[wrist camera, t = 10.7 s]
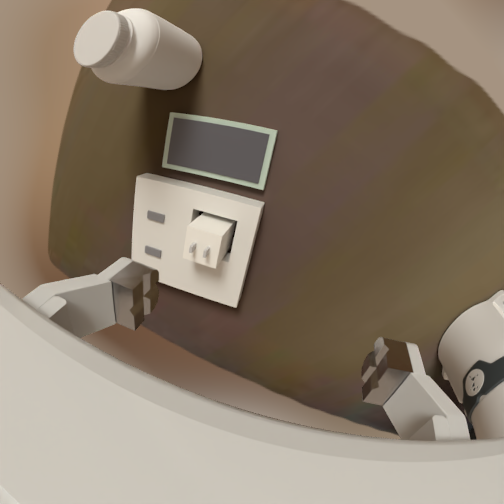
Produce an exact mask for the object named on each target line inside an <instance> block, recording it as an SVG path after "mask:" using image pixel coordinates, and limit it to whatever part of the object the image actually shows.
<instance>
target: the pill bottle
mask: <svg viewBox="0 0 504 504" xmlns="http://www.w3.org/2000/svg"><path fill="white" fill-rule="evenodd" d="M74 56H75V59H76V61H77V62H78V63H79V64H80V65H81V66H83V67H89V68H91V69H92V71H93V72H94V74H95V75H96V76H97V77H98V78H100V79H101V80H103V81H105V82H107V83H112V84H121V85H130V86H139V87H146V88H153V89H160V90H173V89H177V88H180V87H182V86H184V85H186V84H187V83H188V82H190V81H191V80H192V79H193V78H194V77H195V75H196V74H197V72H198V71H199V69H200V66H201V63H202V50H201V47H200V45H199V43H198V42H197V40H196V39H195V38H194V37H192V36H191V35H189V34H188V33H186V32H185V31H183V30H181V29H180V28H178V27H176V26H174V25H173V24H171V23H169V22H168V21H166V20H164V19H162V18H161V17H159V16H157V15H155V14H153V13H151V12H149V11H147V10H144V9H126V10H123V11H120V12H118V13H116V12H113V11H102V12H99V13H97V14H95V15H93V16H92V17H90V18H89V19H88V20H87V21H86V22H85V23H84V24H83V26H82V27H81V29H80V30H79V32H78V34H77V36H76V39H75V43H74Z"/></svg>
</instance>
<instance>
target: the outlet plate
mask: <svg viewBox="0 0 504 504" xmlns="http://www.w3.org/2000/svg"><path fill="white" fill-rule="evenodd" d="M264 204H265V202H261V201H258V200H254V199H250V198H247V197H243V196H239V195H236V194H232V193H228V192H224V191H220V190H217V189H213V188H209V187H205V186H201V185H197V184H193V183H189V182H185V181H180V180H176V179H172V178H168V177H163V176H159V175H155V174H150V173H145V174H142V175H139V176H137V179H136V189H135V201H134V214H133V232H132V260H134V261H136V262H139V263H141V264H144V265H147V266H149V267H152V268H154V269H157V270H158V272H159V281H158V282H161V283H164V284H167V285H169V286H172V287H175V288H178V289H181V290H184V291H187V292H189V293H192V294H195V295H198V296H201V297H204V298H207V299H210V300H213V301H216V302H219V303H222V304H225V305H228V306H232V307H235V308H236V307H237V305H238V303H239V300H240V298H241V294H242V290H243V286H244V282H245V278H246V275H247V271H248V267H249V263H250V259H251V255H252V251H253V247H254V243H255V239H256V235H257V231H258V227H259V224H260V220H261V216H262V212H263V208H264ZM199 211H203V212H207V213H210V214H214V215H218V216H221V217H225V218H228V219H232V220H235V221H237V226H236V230H235V235H234V240H233V244H232V249H231V253H228V252H227V253H226V254H225V256H224V257H223V258H222V260H221V261H220V263H219V264H218V266H217V267H216V269H215V268H212V267H209V266H206V265H202V264H199V263H196V262H193V261H190V260H187V259H184V258H183V252H184V245H185V238H186V231H187V226H188V225H189V224H190V223H191V222H192V221H194V220H195V219H196V218H197V217H199Z"/></svg>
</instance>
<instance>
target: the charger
mask: <svg viewBox="0 0 504 504" xmlns="http://www.w3.org/2000/svg"><path fill="white" fill-rule="evenodd" d="M235 223H236V221H235V220H232V219H228V218H225V217H221V216H218V215H214V214H210V213H207V212H204V213H202V214H201V215H200V216H199V217H197V218H196V219H195V220H194V221H192V222H191V223H190V224H189V225H188V226H187V231H186V238H185V245H184V252H183V258H184V259H187V260H190V261H193V262H196V263H199V264H202V265H206V266H209V267H212V268H215V269H216V267H217V266H218V264H219V263H220V261H221V260H222V258H223V257H224V256H225V254H226V253H227V251H228V250H229V248H230V245H231V241H232V236H233V232H234V227H235Z"/></svg>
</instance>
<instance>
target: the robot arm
mask: <svg viewBox="0 0 504 504" xmlns="http://www.w3.org/2000/svg"><path fill="white" fill-rule="evenodd" d="M158 281H159V272H158V270H157V269H154V268H152V267H149V266H147V265H144V264H141V263H139V262H136V261H134V260H131V259H128V258H126V257H122V258H120V259H119V260H118V261H116V262H115V263H113V264H112V265H111V266H109V267H108V268H107V269H105V270H104V271H103V272H101V273H100V274H99V275H95V274H92V275H87V276H82V277H77V278H72V279H67V280H62V281H57V282H53V283H48V284H43V285H40V286H39V287H37V288H36V289H35V290H33V291H32V292H31V293H29V294H28V295H27V296H25V297H24V298H23V299H21V298H19V297H18V296H16V295H15V294H14V293H13V292H11V291H10V290H9V289H7V288H6V287H5V286H4V285H2V284H1V283H0V504H504V290H500V291H499V292H497V293H496V294H495V295H493V296H492V297H491V298H490V299H489V300H487V301H485V302H482V303H480V304H477V305H475V306H473V307H471V308H470V309H468V310H466V311H465V312H464V313H462V314H461V315H460V316H459V317H458V318H457V319H456V320H455V321H454V322H453V323H452V324H451V325H450V326H449V328H448V329H447V330H446V332H445V334H444V335H443V337H442V339H441V342H440V344H439V348H438V357H439V360H440V362H441V364H442V366H443V368H442V376H443V378H444V379H445V380H449V382H450V384H451V386H452V388H453V390H454V392H455V394H456V396H457V398H458V401H459V402H460V403H463V406H464V409H465V410H464V411H465V414H466V416H467V417H468V420H469V422H470V423H472V424H473V427H474V431H475V434H476V438H477V440H470V435H469V431H468V427H467V423H466V419H465V416H464V415H463V413H462V412H461V411H460V410H459V409H458V408H457V406H456V405H455V404H454V403H453V402H452V401H451V400H450V399H449V397H448V396H447V395H446V394H445V393H444V392H443V391H442V390H441V388H440V387H439V386H438V385H437V384H436V383H435V382H434V381H433V380H432V379H431V377H430V376H427V375H426V374H425V370H424V367H423V363H422V360H421V356H420V353H419V349H418V346H417V345H416V344H413V343H408V342H401V341H396V340H392V339H388V338H383V337H379V338H378V339H377V341H376V342H375V344H374V351H372V352H371V353H369V354H368V355H367V357H366V359H365V360H364V363H363V366H362V372H361V373H362V379H363V380H364V382H365V384H364V385H363V387H362V396H363V402H367V403H372V404H378V405H383V408H384V410H385V411H386V413H387V415H388V417H389V418H390V420H391V422H392V424H393V425H394V427H395V429H396V431H397V433H398V434H399V436H400V438H401V439H388V438H377V437H369V436H361V435H353V434H347V433H340V432H334V431H329V430H323V429H318V428H313V427H308V426H304V425H299V424H295V423H290V422H286V421H282V420H278V419H274V418H271V417H267V416H263V415H260V414H256V413H253V412H249V411H246V410H242V409H239V408H236V407H233V406H230V405H227V404H224V403H221V402H218V401H215V400H212V399H210V398H207V397H204V396H201V395H199V394H196V393H193V392H191V391H188V390H185V389H183V388H181V387H178V386H175V385H173V384H171V383H169V382H166V381H164V380H162V379H159V378H157V377H155V376H152V375H150V374H148V373H146V372H144V371H142V370H140V369H137V368H135V367H133V366H131V365H129V364H127V363H125V362H123V361H121V360H119V359H117V358H115V357H113V356H111V355H110V354H108V353H106V352H104V351H102V350H100V349H98V348H97V347H95V346H93V345H91V344H90V343H88V342H86V341H84V340H83V339H81V337H84V336H86V335H89V334H91V333H94V332H96V331H99V330H101V329H103V328H106V327H108V326H111V325H113V324H116V323H118V324H121V325H123V326H125V327H128V328H130V329H132V330H136V329H137V328H138V327H139V326H140V324H141V323H142V322H143V321H144V315H146V314H149V313H151V312H152V311H153V309H154V308H155V306H156V304H157V301H158V297H159V290H158V288H157V286H156V283H157V282H158Z"/></svg>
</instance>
